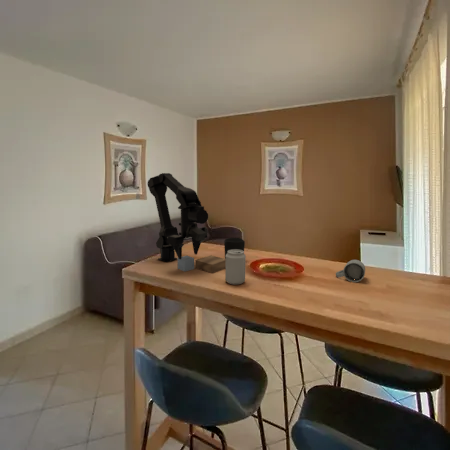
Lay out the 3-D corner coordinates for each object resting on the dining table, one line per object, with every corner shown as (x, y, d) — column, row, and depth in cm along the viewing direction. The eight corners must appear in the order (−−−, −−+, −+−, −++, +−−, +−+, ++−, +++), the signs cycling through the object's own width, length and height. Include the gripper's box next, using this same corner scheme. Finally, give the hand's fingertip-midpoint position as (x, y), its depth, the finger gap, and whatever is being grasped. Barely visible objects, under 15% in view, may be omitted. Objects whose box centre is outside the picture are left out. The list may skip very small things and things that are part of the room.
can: (243, 286, 111) (244, 254, 109) (223, 284, 112) (223, 253, 110) (246, 279, 118) (247, 249, 116) (227, 277, 119) (227, 248, 117)
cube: (177, 268, 130) (177, 257, 129) (187, 266, 133) (187, 255, 133) (184, 271, 126) (184, 260, 126) (194, 269, 130) (194, 257, 129)
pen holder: (220, 261, 141) (220, 240, 139) (230, 257, 149) (231, 236, 147) (238, 264, 136) (238, 243, 134) (247, 260, 144) (248, 239, 142)
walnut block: (195, 269, 131) (195, 260, 130) (211, 263, 139) (211, 255, 138) (212, 274, 125) (212, 264, 124) (228, 268, 132) (228, 259, 132)
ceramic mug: (364, 277, 121) (366, 258, 120) (364, 283, 114) (365, 264, 113) (336, 273, 126) (337, 255, 125) (334, 279, 119) (335, 260, 117)
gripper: (185, 225, 115) (185, 265, 117) (216, 220, 129) (216, 255, 132) (165, 222, 122) (166, 260, 124) (197, 217, 136) (198, 251, 139)
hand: (188, 256), depth 130 cm, fingers open, 9 cm apart
